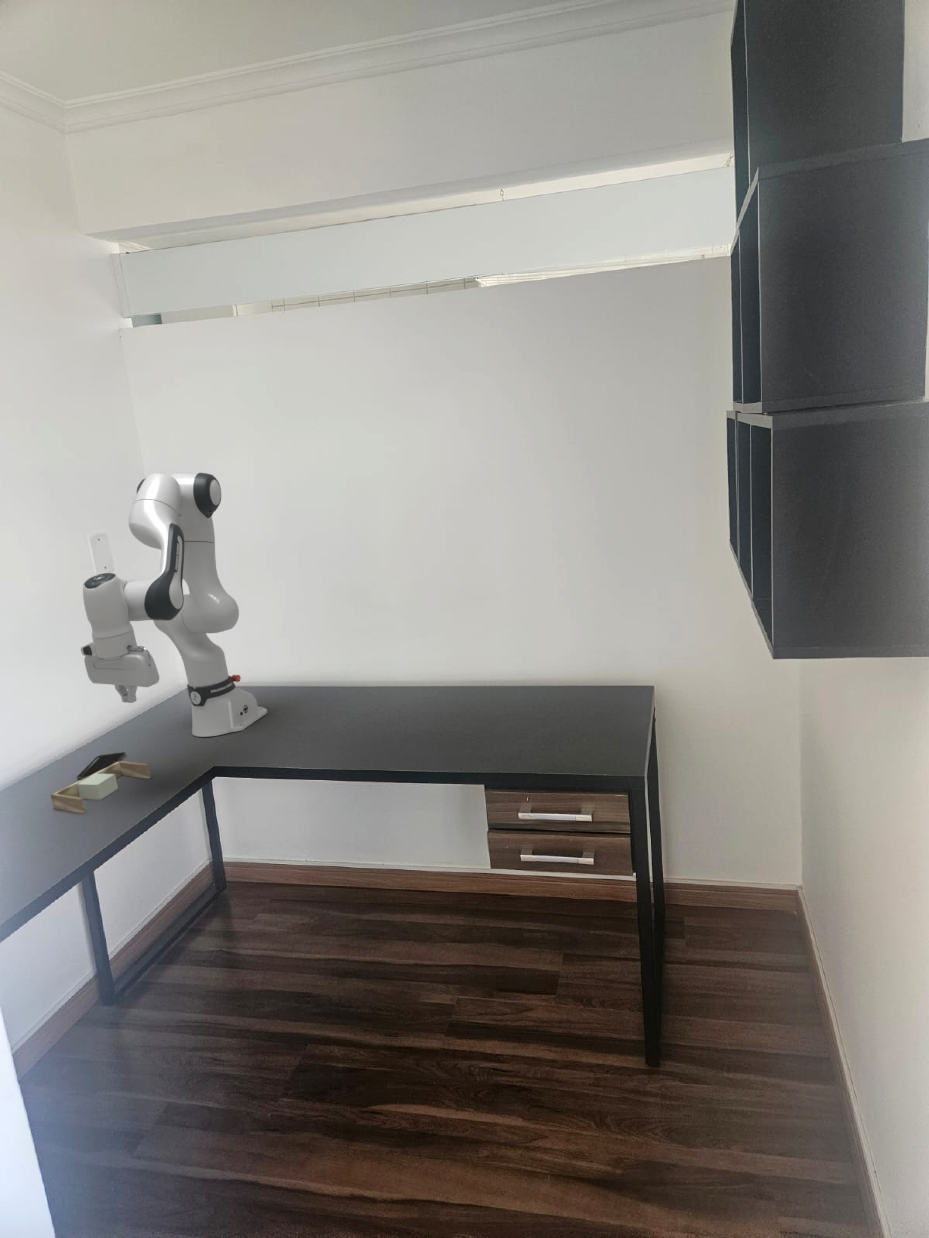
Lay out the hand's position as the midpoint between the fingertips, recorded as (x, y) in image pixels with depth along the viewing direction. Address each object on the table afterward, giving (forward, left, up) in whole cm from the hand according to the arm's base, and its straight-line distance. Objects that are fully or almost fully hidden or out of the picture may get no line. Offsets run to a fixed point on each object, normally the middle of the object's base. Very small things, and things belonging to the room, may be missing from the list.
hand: (129, 701), depth 201 cm
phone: (-8, -27, -23) cm, 36 cm away
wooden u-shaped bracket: (+4, -12, -22) cm, 26 cm away
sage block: (+5, -12, -23) cm, 26 cm away
